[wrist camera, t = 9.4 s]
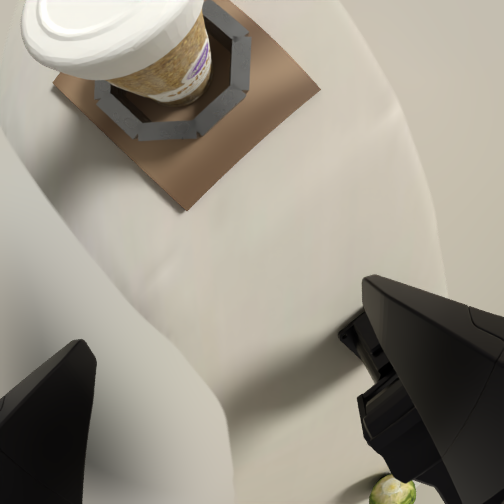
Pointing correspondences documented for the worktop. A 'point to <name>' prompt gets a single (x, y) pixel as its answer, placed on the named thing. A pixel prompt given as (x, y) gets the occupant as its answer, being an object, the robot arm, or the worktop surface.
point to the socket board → (224, 132)
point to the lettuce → (392, 492)
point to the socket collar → (239, 82)
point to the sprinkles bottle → (124, 44)
